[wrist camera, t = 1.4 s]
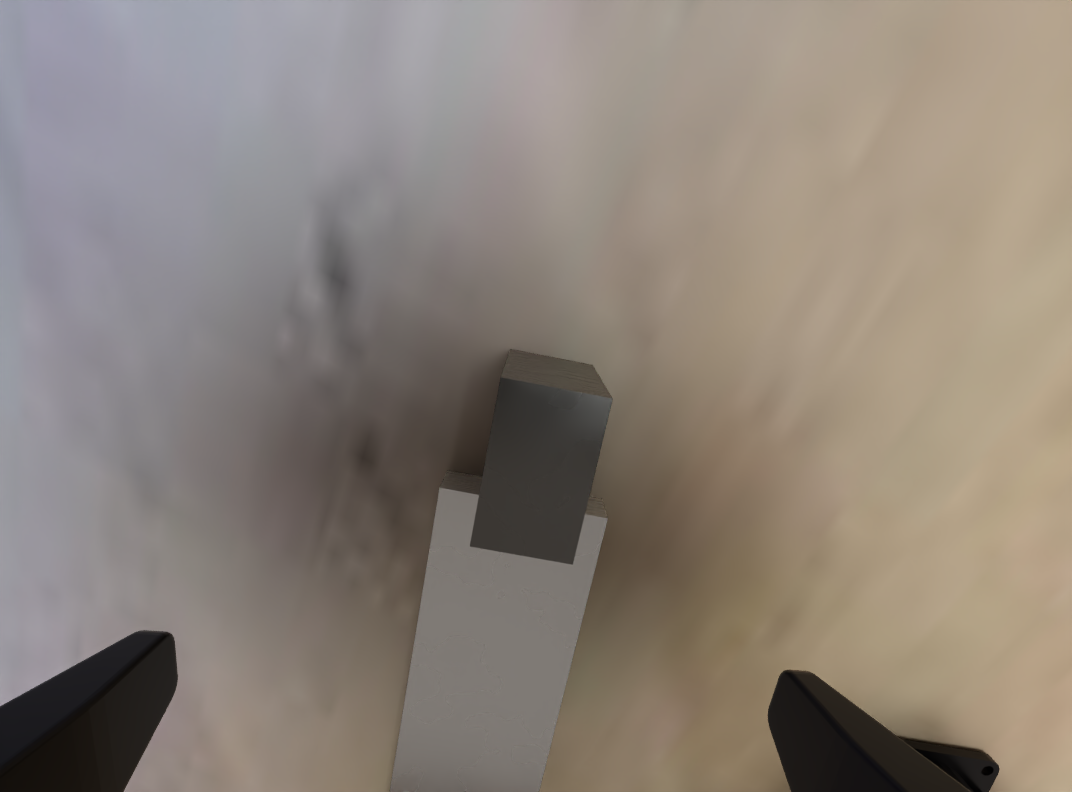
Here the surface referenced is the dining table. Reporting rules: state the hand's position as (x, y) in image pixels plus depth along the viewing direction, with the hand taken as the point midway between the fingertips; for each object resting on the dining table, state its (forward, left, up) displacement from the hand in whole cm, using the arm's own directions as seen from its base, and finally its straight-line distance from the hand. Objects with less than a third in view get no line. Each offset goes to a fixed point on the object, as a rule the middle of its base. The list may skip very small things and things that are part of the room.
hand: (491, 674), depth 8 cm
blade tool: (-1, +8, -12) cm, 14 cm away
